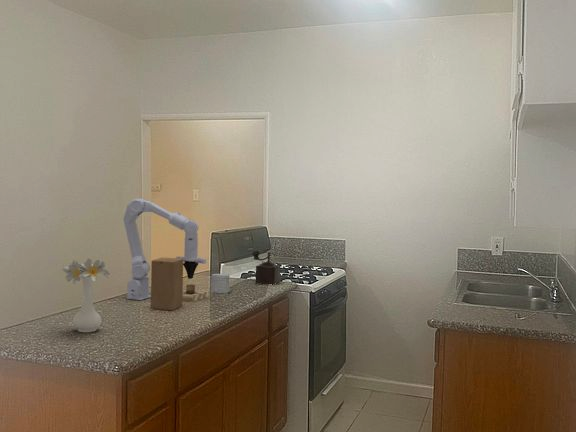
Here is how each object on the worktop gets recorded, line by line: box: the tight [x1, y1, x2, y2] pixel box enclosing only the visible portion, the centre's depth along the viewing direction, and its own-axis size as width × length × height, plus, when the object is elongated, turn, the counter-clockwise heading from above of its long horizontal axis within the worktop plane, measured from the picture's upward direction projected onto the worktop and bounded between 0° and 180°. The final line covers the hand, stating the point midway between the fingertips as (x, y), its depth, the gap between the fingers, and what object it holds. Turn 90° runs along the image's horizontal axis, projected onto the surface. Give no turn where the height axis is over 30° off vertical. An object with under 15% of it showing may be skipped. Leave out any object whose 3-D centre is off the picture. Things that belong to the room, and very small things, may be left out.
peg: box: [185, 284, 196, 294], centre depth 254 cm, size 4×4×6 cm
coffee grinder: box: [252, 249, 281, 286], centre depth 297 cm, size 16×11×18 cm
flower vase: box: [62, 257, 110, 333], centre depth 195 cm, size 13×18×25 cm
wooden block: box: [150, 257, 184, 311], centre depth 235 cm, size 10×10×20 cm
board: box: [182, 288, 210, 303], centre depth 256 cm, size 14×12×2 cm
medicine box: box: [210, 273, 230, 294], centre depth 270 cm, size 8×4×9 cm, turn 84°
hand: (190, 278), depth 254 cm, fingers closed
